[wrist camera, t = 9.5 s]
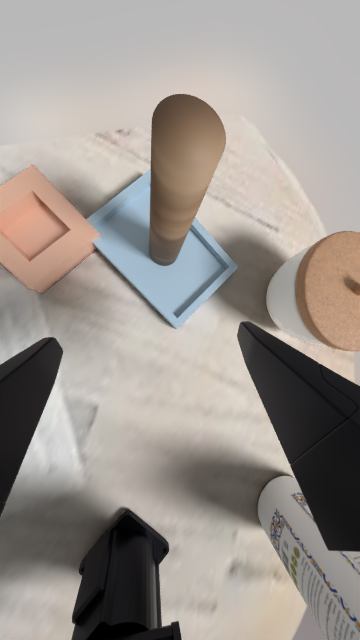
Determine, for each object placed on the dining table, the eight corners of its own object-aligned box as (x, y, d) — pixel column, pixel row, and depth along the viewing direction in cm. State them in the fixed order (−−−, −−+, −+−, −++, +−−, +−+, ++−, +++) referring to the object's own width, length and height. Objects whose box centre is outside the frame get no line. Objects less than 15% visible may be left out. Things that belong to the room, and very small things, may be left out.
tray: (231, 271, 21) (238, 267, 20) (174, 328, 20) (177, 329, 18) (151, 180, 20) (151, 168, 18) (83, 234, 18) (76, 226, 17)
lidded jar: (304, 355, 23) (409, 376, 14) (236, 321, 21) (305, 318, 12) (330, 284, 24) (442, 259, 15) (268, 247, 23) (351, 192, 13)
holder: (104, 243, 19) (98, 232, 17) (43, 293, 17) (28, 288, 15) (46, 183, 18) (32, 164, 16) (-22, 232, 17) (-48, 218, 14)
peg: (182, 260, 19) (236, 159, 8) (156, 270, 19) (170, 176, 7) (171, 233, 19) (208, 88, 8) (144, 242, 19) (139, 100, 7)
